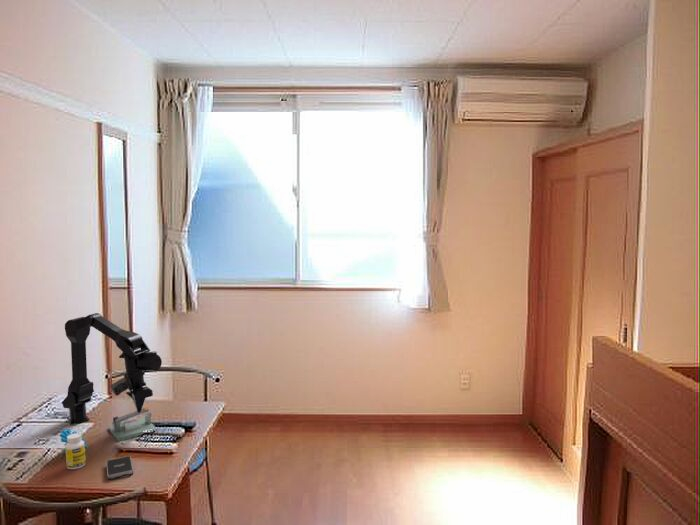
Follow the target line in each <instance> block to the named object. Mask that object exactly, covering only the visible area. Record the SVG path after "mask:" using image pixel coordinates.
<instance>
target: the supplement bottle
mask: <svg viewBox="0 0 700 525" xmlns="http://www.w3.org/2000/svg"><path fill="white" fill-rule="evenodd" d="M81 434H82V433H81ZM81 434H80V432H79V433H78V432H77V433H75V434H72V433H71V435H69V436H67V442H68V443H67V444H66V443H65V444H66V445H65V444H64V446H65V447H64V449H65V451H66V452H65V460H66V468H67V469H68V470H77V469H81V468H83V467H84V466H85V465H86V464H87V460H86V458H87V457H86V451H85V445H86V444H84V441H83V440H84V439H83V438H82V437H83V436H82V437H81ZM81 439H82V440H81Z"/></svg>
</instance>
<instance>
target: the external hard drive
mask: <svg viewBox="0 0 700 525" xmlns="http://www.w3.org/2000/svg"><path fill="white" fill-rule="evenodd" d="M131 457H132V456H130V455H128V456H127V455H126V456H122V457H117V458H113V459H108V460H106V471H107V472H106V473H107V474H106V475H107V480H108V481H113V480H116V479H121V478H126V477H129V476H130V477H131V476H133V474H134V471H133V469H134V468H133V464H132V458H131Z"/></svg>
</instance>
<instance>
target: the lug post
mask: <svg viewBox="0 0 700 525" xmlns="http://www.w3.org/2000/svg"><path fill="white" fill-rule="evenodd" d="M144 417H145V422H146V423H147V424H151V423H152V418H151V417H152V413H151V412H145V413H144Z"/></svg>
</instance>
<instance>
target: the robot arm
mask: <svg viewBox="0 0 700 525" xmlns="http://www.w3.org/2000/svg"><path fill="white" fill-rule="evenodd" d="M91 327H92V328H94V329H95V330H96V331H99V332H100V333H101V334H103V335H104V336H106V337H108V338H109V339H111V340H112V341H113V342H114V343H115V345H116V347H117V348H118V349H120V351H121V352H122V353H121V354H120V355H119V356H118V358H119V359H124V367H125V368H124V369H125V372H124V374H123V378H121V379H118V380H116V381H114V382H113V383H112V384H110V385H109V388H110V390H111V391H112V393H113V395H115V397H117V396H119V395H121V394H122V393H123V392H125V391H126V390H127V391H126V392H125V394H127V396H129V397H130V398H131V399H132V401H133V404H134V407H135V409H136V411H138V412H139V411H141V409H143V406H144V403H145V401H146V399H147V398H149V397H153V396H154V394H153V392H154V391H153V389H151V388H150V387H149V386H147V383H146V382H145V378H144V377H145V376H144V375H146V373H145V371H146V372H148V371H149V372H157V371H159V370H160V368H161V367H162V362H163V361H162V358H161V356H160V355H159V354H158V353H157V351H151V348H149V346H148V345H147V343H146V342H145V341H144V339H143V337H142V336H141V335H140V333H139V334H138V333H136V332H134V331H130V330H126V329H123V328H121V326H118V325H117V324H115V323H114V322H112V321H111V320H108V319H107V318H105V317H104V316H103V315H102V314H101V313H97V312H95V313H91V314H88V315H86V316H80V317H75V318H73V319H72V318H71V319H69V320H67V321H66V322H65V323H64V330H65V331H64V332H65V336H66V338H67V339H68V340H69V341H70V350H71V351H70V352H71V381H70V382H69V383H70V384H69V386H68V387H67V395H66V397H65V398H64V399H63V400H62V402H61V404H62V407H63V408H64V409H68V411H69V417H68V418H67V421H68V420H69V421H68V423H69V422H70V423H69V425H74V424H73V423H75V424H80V423H83V422H88V421H90V418H89V416H88V415H87V403H90V402H91V400H92V397H93V395H94V394H93V393H94V392H95V390H94V382H93V381H90V379H89V378H88V371H87V365H88V364H87V345H86V344H87V339H88V337H90V334H91Z"/></svg>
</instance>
